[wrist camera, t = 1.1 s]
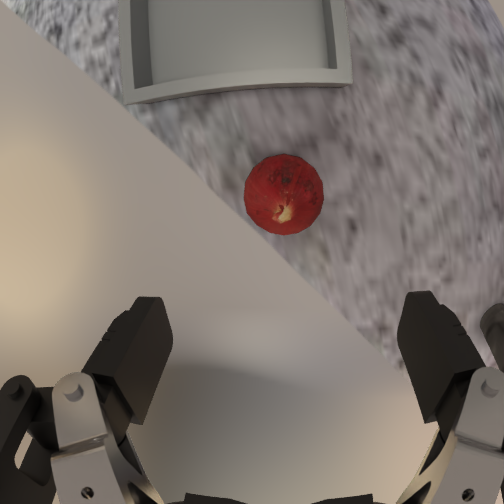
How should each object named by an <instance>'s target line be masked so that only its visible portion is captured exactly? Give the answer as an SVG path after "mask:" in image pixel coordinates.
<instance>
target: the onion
mask: <svg viewBox="0 0 504 504" xmlns="http://www.w3.org/2000/svg"><path fill="white" fill-rule="evenodd" d="M323 201H324V195H323V183H322V181H321V179H320V177H319V175H318V173H317V172H316V170H315V168H313V167H312V166H311V165H310V164H308V163H307V162H306V161H305V160H303V159H302V158H300V157H296V156H291V155H287V154H281V155H276V156H272V157H267V158H265V159H264V160H263V161H261V162H260V163H259V164H258V165H256V166H255V167H254V168H253V169H252V171H251V173H250V175H249V176H248V178H247V180H246V182H245V190H244V202H245V206H246V211H247V214H248V215H249V216H250V217H251V219H252V220H253V221H254V222H255V224H256V225H258V226H259V227H261V228H263V229H265V230H266V231H268V232H270V233H274V234H280V235H288V234H294V233H299V232H300V231H302V230H304V229H306V228H307V227H309V226H311V224H312V223H313V222H314V221H315V219H316V218H317V217H318V215H319V214H320V212H321V208H322V204H323Z"/></svg>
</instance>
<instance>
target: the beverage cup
mask: <svg viewBox="0 0 504 504" xmlns="http://www.w3.org/2000/svg"><path fill="white" fill-rule="evenodd" d="M480 327H481V329H482V331H483V334H484V337H485V339H486V341H487V343H488V345H489V347H490V349H491V351H492V354H493V356H494V358H495V360H496V363H497V365H498V367H499V369H500V371H502V372H503V373H504V305H503V304H496V305H494V306H492V307H491V308H490V309H489V310H488V311H487V312H486V313H485V314H484V316H483V317H482V320H481V322H480Z"/></svg>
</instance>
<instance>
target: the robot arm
mask: <svg viewBox="0 0 504 504" xmlns="http://www.w3.org/2000/svg"><path fill="white" fill-rule="evenodd" d="M397 341H398V346H399V349H400V352H401V354H402V357H403V360H404V362H405V365H406V368H407V371H408V374H409V376H410V379H411V382H412V385H413V388H414V391H415V394H416V397H417V400H418V403H419V407H420V410H421V413H422V416H423V420H424V423H425V424H426V423H430V422H434V421H437V422H438V425H439V428H438V429H437V431H436V433H435V435H434V437H433V439H432V442H431V444H430V446H429V448H428V450H427V453H426V455H425V457H424V459H423V461H422V463H421V465H420V467H419V469H418V471H417V473H416V475H415V477H414V478H413V480H412V481H411V483H410V484H409V486H408V487H407V488H406V489H405V491H404V492H403V493H402V495H401V496H400V498H399V499H398V501H397V502H396V504H495V501H496V499H497V496H498V493H499V490H500V488H501V492H502V498H503V503H504V373H503V372H502V371H500V370H498V369H496V368H493V367H486V365H485V363H484V362H483V360H482V358H481V356H480V355H479V353H478V351H477V349H476V348H475V346H474V344H473V342H472V341H471V339H470V337H469V336H468V335H467V332H466V331H465V329H464V328H463V326H461V323H460V321H459V320H458V318H457V316H456V315H455V313H454V312H452V311H451V310H450V309H449V308H447V307H446V306H445V305H444V304H442V305H440V304H439V303H438V301H437V300H436V298H435V297H434V295H433V293H432V292H431V291H417V292H409V293H408V294H407V295H406V298H405V303H404V307H403V311H402V315H401V319H400V322H399V326H398V331H397ZM172 345H173V335H172V330H171V326H170V323H169V320H168V316H167V313H166V309H165V306H164V302H163V300H162V298H160V297H138V298H137V299H136V300H135V302H134V304H133V305H132V307H131V308H130V310H129V311H126V310H125V311H124V312H123V313H122V314H120V315H119V316H118V317H117V318H115V319H114V320H113V322H112V323H111V325H110V327H109V328H108V330H107V332H106V333H105V334H104V336H103V337H102V341H100V342H99V344H98V345H97V347H96V348H95V350H94V351H93V353H92V355H91V356H90V358H89V359H88V361H87V363H86V364H85V366H84V368H83V369H82V371H81V372H75V373H70V374H68V375H66V376H64V377H62V378H61V379H60V380H59V381H58V382H57V383H56V384H55V386H54V387H43V388H42V387H41V388H36V387H35V385H34V384H33V383H32V381H31V380H30V379H29V378H28V377H27V376H24V375H18V376H15V377H13V378H11V379H9V380H8V381H7V382H6V383H5V384H4V385H3V387H2V388H1V390H0V504H52V502H53V499H54V496H55V493H56V490H57V494H58V497H59V501H60V504H164V502H163V501H162V499H161V497H160V495H159V494H158V493H157V491H156V489H155V488H154V487H153V485H152V484H151V482H150V481H149V479H148V477H147V475H146V473H145V471H144V469H143V466H142V464H141V462H140V460H139V457H138V455H137V453H136V450H135V448H134V445H133V443H132V440H131V438H130V435H129V433H128V431H127V428H128V426H129V423H134V424H139V425H143V422H144V420H145V417H146V414H147V412H148V409H149V406H150V404H151V401H152V398H153V396H154V393H155V390H156V388H157V385H158V383H159V380H160V378H161V375H162V372H163V370H164V367H165V365H166V362H167V360H168V357H169V355H170V352H171V350H172ZM26 431H27V432H28V433H29V434H30V435H31V436H32V437H33V439H32V441H31V443H30V446H29V448H28V450H27V452H26V454H25V457H24V459H23V461H22V464H21V466H20V468H19V469H18V468H17V467H16V465H15V461H14V458H15V454H16V452H17V450H18V447H19V445H20V443H21V441H22V439H23V437H24V434H25V433H26ZM168 504H246V503H243V502H239V501H236V500H233V499H228V498H219V497H210V496H202V495H196V494H190V493H186V495H185V499H184V501H179V502H173V503H168ZM312 504H384V503H378V502H373V496H372V494H367V495H360V496H353V497H344V498H335V499H327V500H323V501H320V502H316V503H312Z"/></svg>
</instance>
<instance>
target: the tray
mask: <svg viewBox="0 0 504 504" xmlns="http://www.w3.org/2000/svg"><path fill="white" fill-rule="evenodd" d="M119 47H120V64H121V78H122V90H123V100H124V105H132V104H150V103H155V102H160V101H165V100H171V99H176V98H182V97H189V96H195V95H202V94H210V93H218V92H227V91H237V90H249V89H264V88H286V87H335V88H341V87H344V86H347V85H350V84H353V77H352V63H351V51H350V41H349V32H348V23H347V15H346V8H345V1H344V0H119Z"/></svg>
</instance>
